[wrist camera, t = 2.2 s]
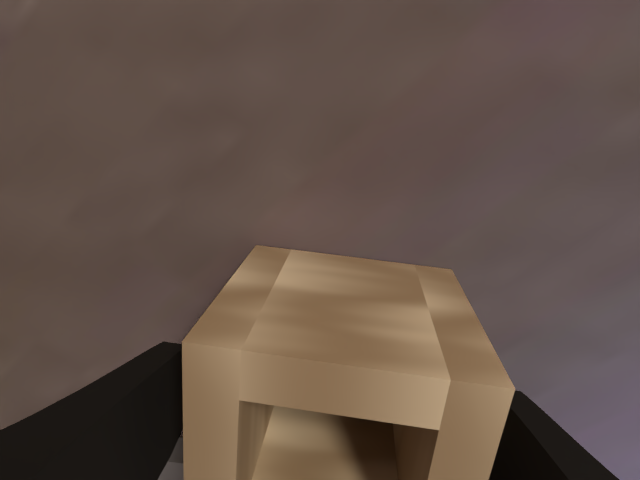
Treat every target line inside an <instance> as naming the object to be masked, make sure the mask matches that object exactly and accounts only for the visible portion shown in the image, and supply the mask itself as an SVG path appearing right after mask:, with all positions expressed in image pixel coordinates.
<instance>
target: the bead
mask: <svg viewBox="0 0 640 480" xmlns="http://www.w3.org/2000/svg"><path fill="white" fill-rule="evenodd" d="M182 389H183V469H184V480H489V477H490V473H491V470H492V466H493V463H494V460H495V456H496V453H497V450H498V446H499V443H500V439H501V436H502V433H503V429H504V426H505V422H506V419H507V416H508V412H509V409H510V405H511V402H512V399H513V395H514V392H515V388H514V386H513V384H512V382H511V380H510V378H509V376H508V374H507V373H506V371H505V369H504V367H503V365H502V363H501V361H500V359H499V358H498V356H497V354H496V352H495V350H494V348H493V346H492V344H491V343H490V341H489V339H488V337H487V335H486V333H485V331H484V329H483V327H482V326H481V324H480V322H479V320H478V318H477V316H476V314H475V312H474V311H473V309H472V307H471V305H470V303H469V301H468V299H467V297H466V295H465V294H464V292H463V290H462V288H461V286H460V284H459V282H458V280H457V279H456V277H455V275H454V273H453V271H452V269H444V268H436V267H428V266H420V265H412V264H404V263H396V262H388V261H380V260H372V259H364V258H356V257H348V256H340V255H332V254H324V253H316V252H308V251H300V250H292V249H284V248H276V247H268V246H260V245H256V246H255V247H254V249H253V250H252V251H251V252H250V254H249V255H248V256H247V258H246V259H245V260H244V262H243V263H242V264H241V265H240V267H239V268H238V269H237V271H236V272H235V273H234V275H233V276H232V277H231V278H230V280H229V281H228V282H227V284H226V285H225V286H224V288H223V289H222V290H221V292H220V293H219V294H218V295H217V297H216V298H215V299H214V301H213V302H212V303H211V305H210V306H209V307H208V308H207V310H206V311H205V312H204V314H203V315H202V316H201V318H200V319H199V320H198V321H197V323H196V324H195V325H194V327H193V328H192V329H191V331H190V332H189V333H188V335H187V336H186V337H185V338H184V340H183V341H182Z"/></svg>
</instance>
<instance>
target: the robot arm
mask: <svg viewBox="0 0 640 480" xmlns="http://www.w3.org/2000/svg"><path fill="white" fill-rule="evenodd" d="M182 429H183V389H182V344H176V343H169V342H162V343H160V344H158V345H156V346H154V347H152V348H151V349H149V350H147V351H146V352H144V353H142V354H140V355H139V356H137V357H135V358H134V359H132V360H130V361H129V362H127V363H125V364H124V365H122V366H120V367H118V368H117V369H115V370H113V371H112V372H110V373H108V374H106V375H105V376H103V377H101V378H100V379H98V380H96V381H94V382H93V383H91V384H89V385H87V386H86V387H84V388H82V389H80V390H78V391H76V392H75V393H73V394H71V395H69V396H67V397H65V398H63V399H61V400H60V401H58V402H56V403H54V404H52V405H50V406H48V407H46V408H45V409H43V410H41V411H39V412H37V413H35V414H33V415H31V416H29V417H27V418H25V419H23V420H21V421H19V422H17V423H15V424H13V425H10V426H8V427H6V428H4V429H2V430H0V480H158V478H159V476H160V474H161V473H162V471H163V469H164V467H165V466H166V464H167V462H168V460H169V458H170V457H171V454H172V452H173V450H174V448H175V445H176V443H177V441H178V439H179V436H180V434H181V431H182ZM489 480H619V479H618V478H617V477H616V476H614V475H613V474H612V473H611V472H610V471H609V470H607V469H606V468H605V467H604V466H603V465H602V464H601V463H600V462H598V461H597V460H596V459H595V458H594V457H593V456H592V455H591V454H590V453H588V452H587V451H586V450H585V449H584V448H583V447H582V446H581V445H580V444H579V443H577V442H576V441H575V440H574V439H573V438H572V437H571V436H570V435H569V434H568V433H567V432H566V431H564V430H563V429H562V428H561V427H560V426H559V425H558V424H557V423H556V422H555V421H554V420H553V419H551V418H550V417H549V416H548V415H547V414H546V413H545V412H544V411H543V410H542V409H541V408H539V407H538V406H537V405H536V404H535V403H534V402H533V401H532V400H530V399H529V398H528V397H527V396H526V395H524V394H523V393H522V392H521V391H515V392H514V395H513V399H512V402H511V405H510V409H509V412H508V416H507V419H506V422H505V426H504V429H503V433H502V436H501V439H500V443H499V446H498V450H497V453H496V456H495V460H494V463H493V466H492V470H491V473H490V477H489Z"/></svg>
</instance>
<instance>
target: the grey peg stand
mask: <svg viewBox="0 0 640 480" xmlns="http://www.w3.org/2000/svg"><path fill="white" fill-rule="evenodd" d="M158 480H184V469H183V438H182V437H179V439H178V441H177V443H176V445H175V448H174V450H173V452H172V454H171V457H170V458H169V460H168V462H167V464H166V466H165V467H164V469H163V471H162V473H161V474H160V476H159V478H158Z"/></svg>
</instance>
